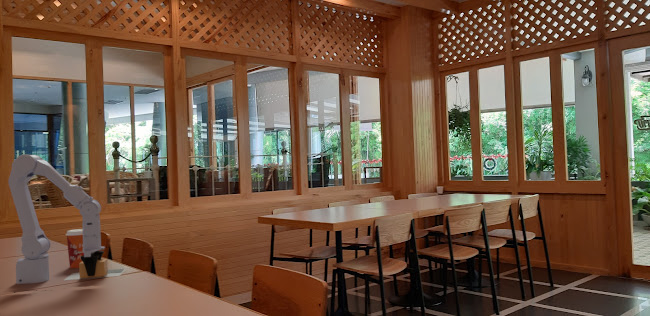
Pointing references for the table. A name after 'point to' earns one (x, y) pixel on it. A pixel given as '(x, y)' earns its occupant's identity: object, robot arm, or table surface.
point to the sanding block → (100, 269)
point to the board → (110, 274)
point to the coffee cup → (75, 247)
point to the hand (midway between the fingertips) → (93, 274)
